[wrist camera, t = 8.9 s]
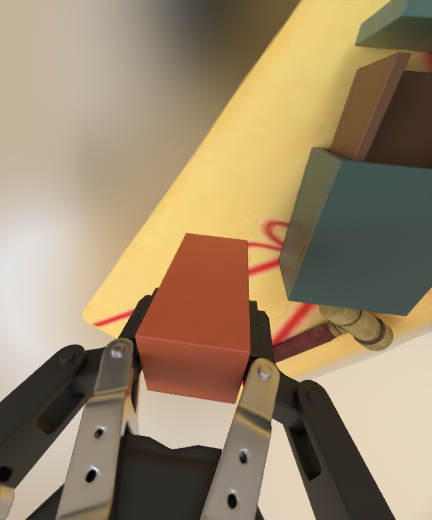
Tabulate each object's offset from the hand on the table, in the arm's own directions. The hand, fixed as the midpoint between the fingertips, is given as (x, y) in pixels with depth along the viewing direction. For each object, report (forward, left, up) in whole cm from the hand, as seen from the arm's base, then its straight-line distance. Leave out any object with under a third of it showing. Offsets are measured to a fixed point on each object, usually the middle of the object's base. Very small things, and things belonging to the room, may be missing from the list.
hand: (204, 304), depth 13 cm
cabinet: (-7, +12, -15) cm, 21 cm away
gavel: (+11, +23, -15) cm, 29 cm away
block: (0, 0, -5) cm, 5 cm away
